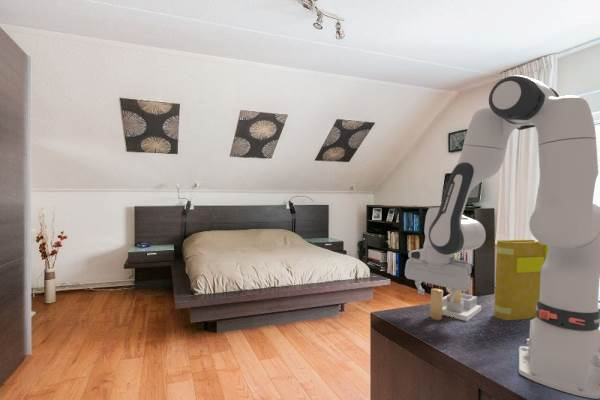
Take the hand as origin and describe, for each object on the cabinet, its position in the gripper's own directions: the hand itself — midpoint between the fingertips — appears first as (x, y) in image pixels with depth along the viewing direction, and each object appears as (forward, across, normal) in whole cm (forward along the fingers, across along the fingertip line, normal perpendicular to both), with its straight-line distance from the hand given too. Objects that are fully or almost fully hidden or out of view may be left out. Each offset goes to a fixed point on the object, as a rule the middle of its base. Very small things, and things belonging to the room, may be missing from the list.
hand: (435, 298), depth 113 cm
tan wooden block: (+6, -1, 0) cm, 6 cm away
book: (+6, -19, -23) cm, 30 cm away
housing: (+6, -4, -12) cm, 14 cm away
